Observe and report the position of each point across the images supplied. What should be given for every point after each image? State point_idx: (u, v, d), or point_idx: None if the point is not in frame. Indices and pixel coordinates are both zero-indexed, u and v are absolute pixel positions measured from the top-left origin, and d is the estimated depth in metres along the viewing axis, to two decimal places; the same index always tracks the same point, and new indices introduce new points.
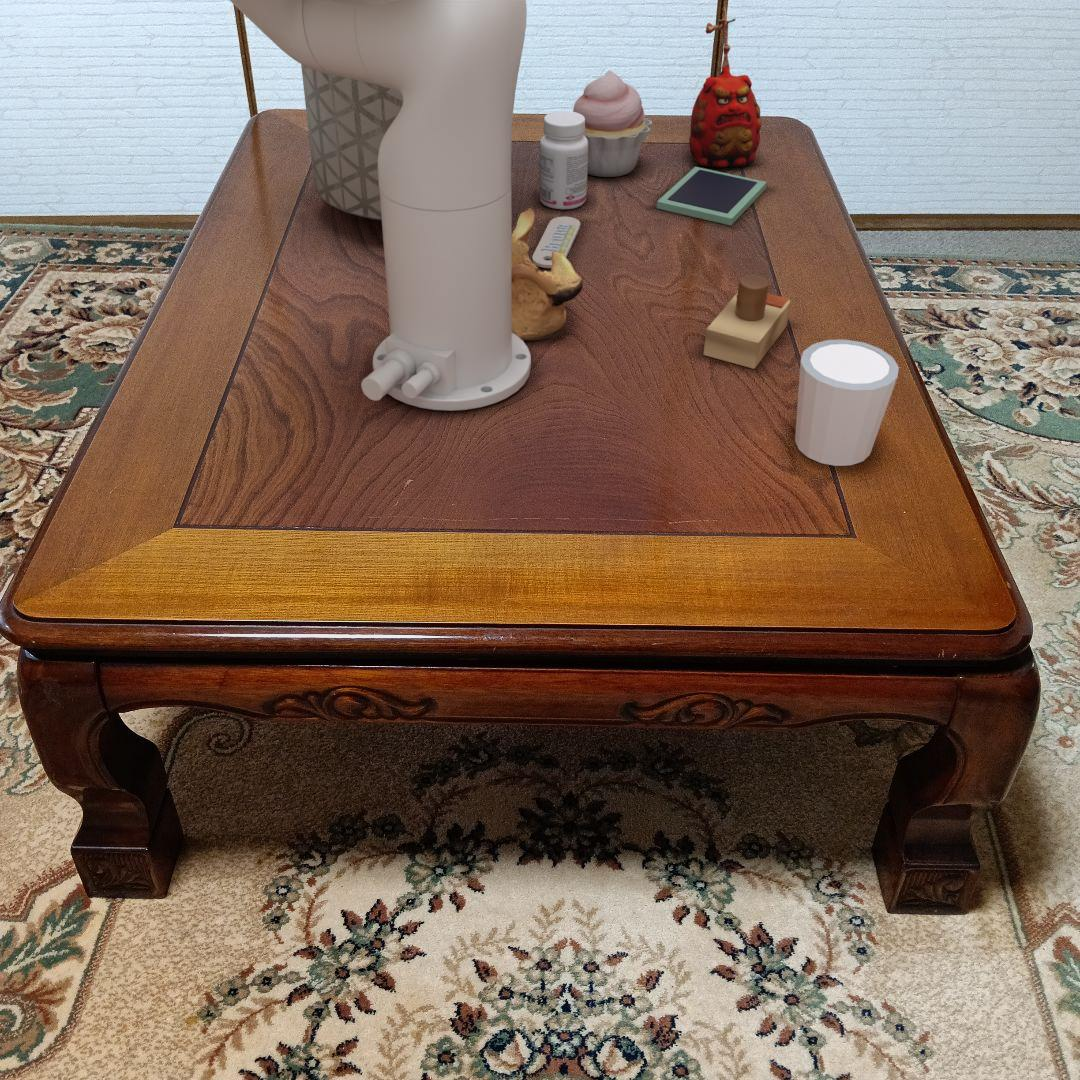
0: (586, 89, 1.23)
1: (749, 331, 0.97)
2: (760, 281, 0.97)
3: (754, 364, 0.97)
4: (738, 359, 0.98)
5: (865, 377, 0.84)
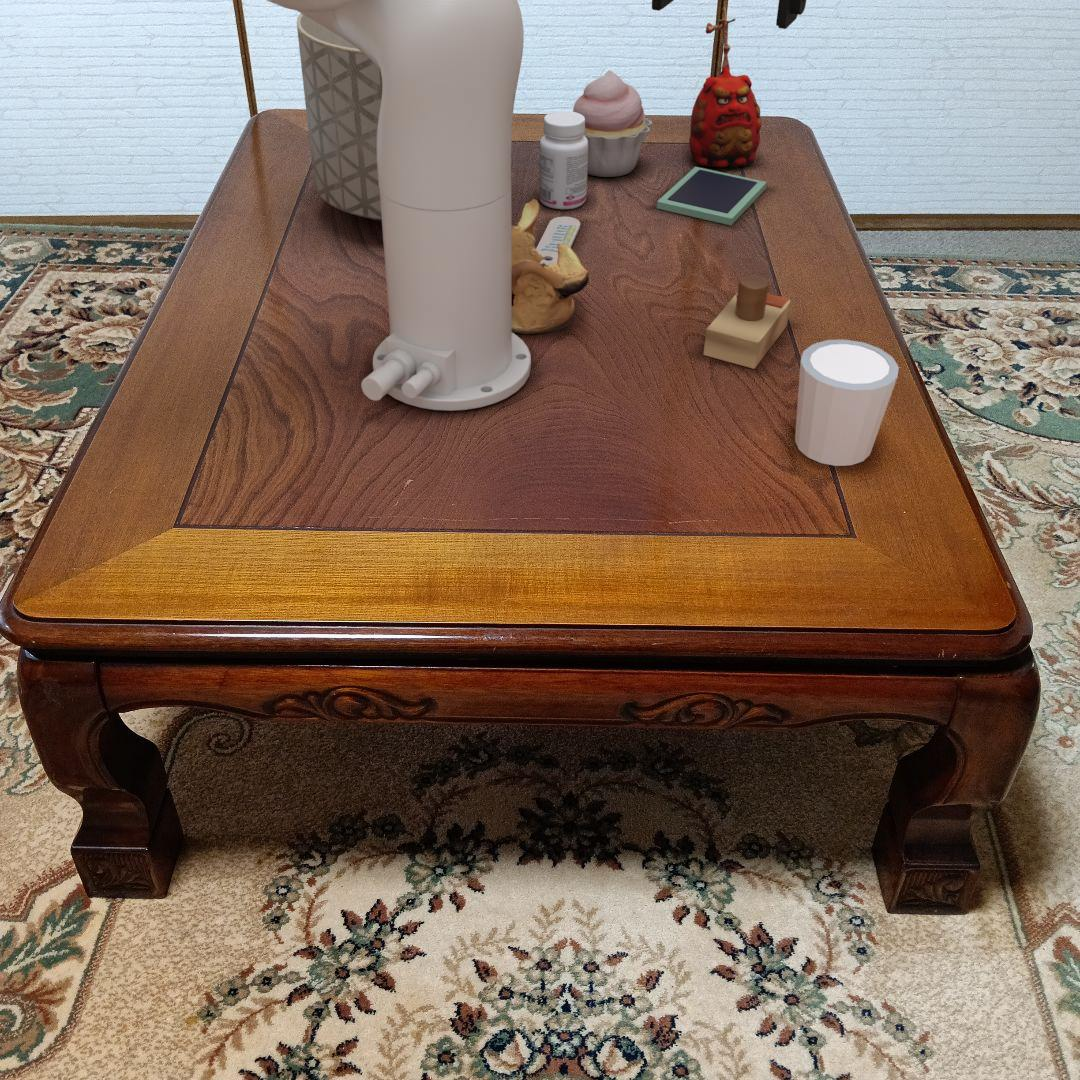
0: (586, 89, 1.23)
1: (749, 331, 0.97)
2: (760, 281, 0.97)
3: (754, 364, 0.97)
4: (738, 359, 0.98)
5: (865, 377, 0.84)
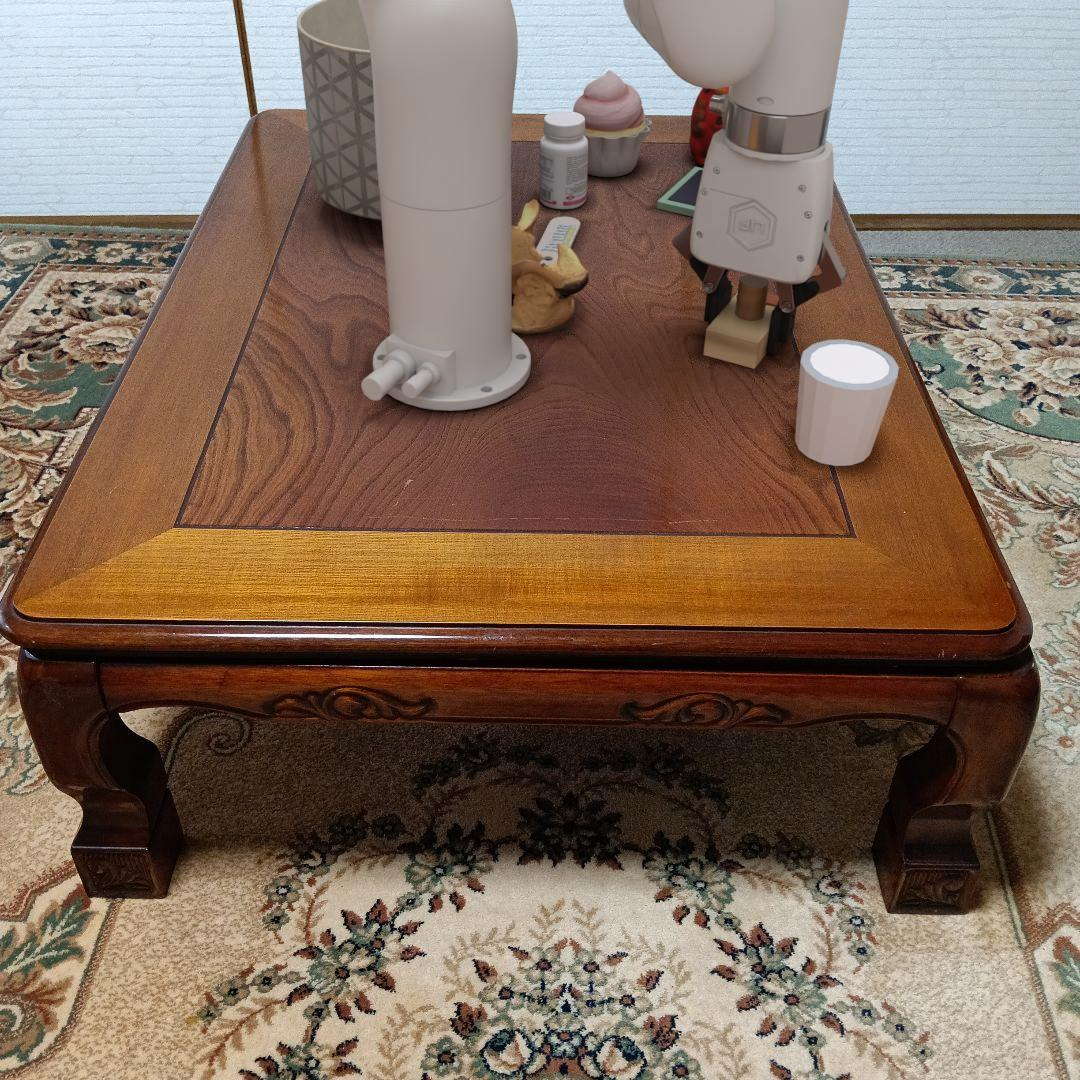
0: (586, 89, 1.23)
1: (749, 331, 0.97)
2: (760, 281, 0.97)
3: (754, 364, 0.97)
4: (738, 359, 0.98)
5: (865, 377, 0.84)
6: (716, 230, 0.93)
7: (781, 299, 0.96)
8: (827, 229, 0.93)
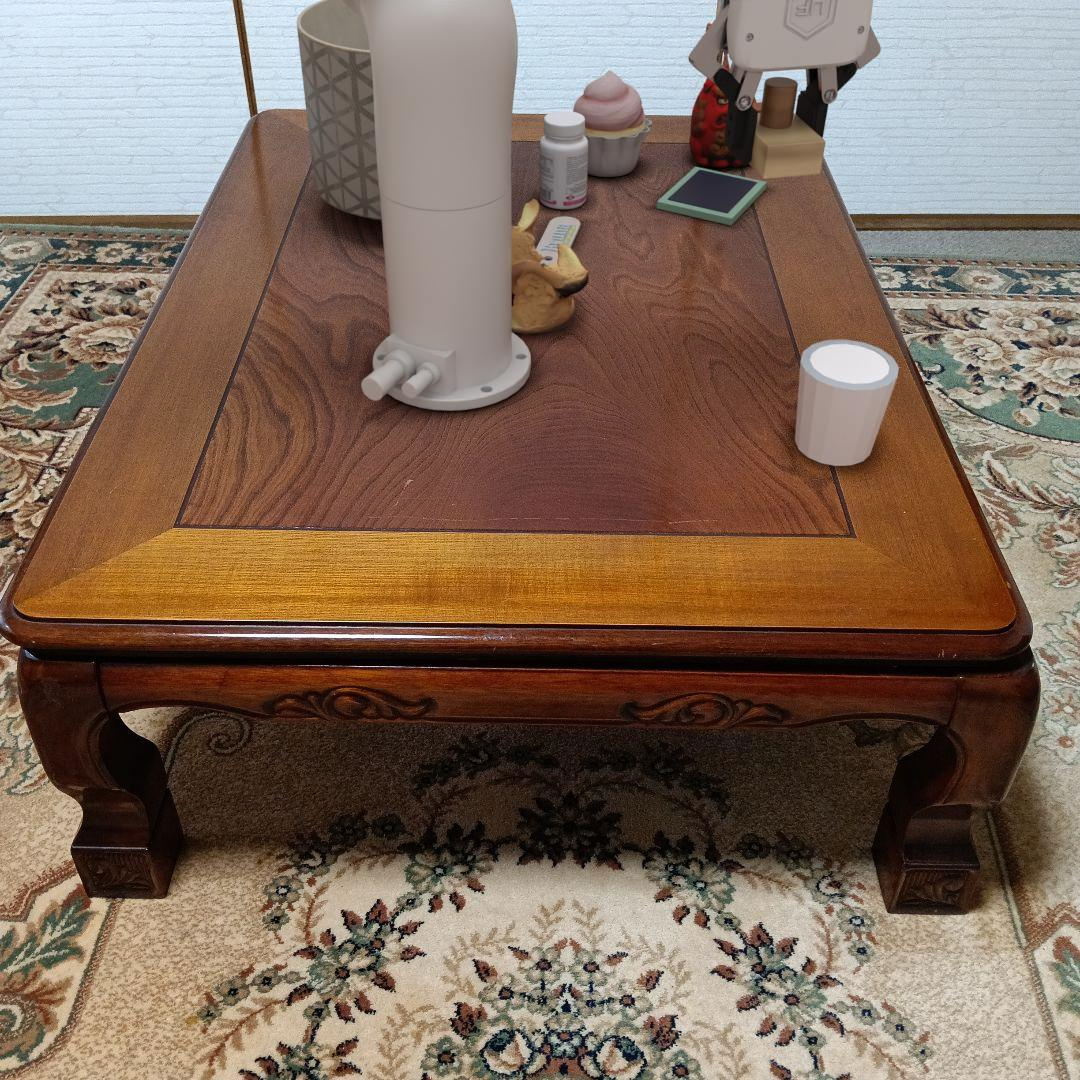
0: (586, 89, 1.23)
1: (802, 135, 0.87)
2: (785, 80, 0.88)
3: None
4: (803, 169, 0.88)
5: (865, 377, 0.84)
6: (770, 25, 0.82)
7: (824, 90, 0.87)
8: None
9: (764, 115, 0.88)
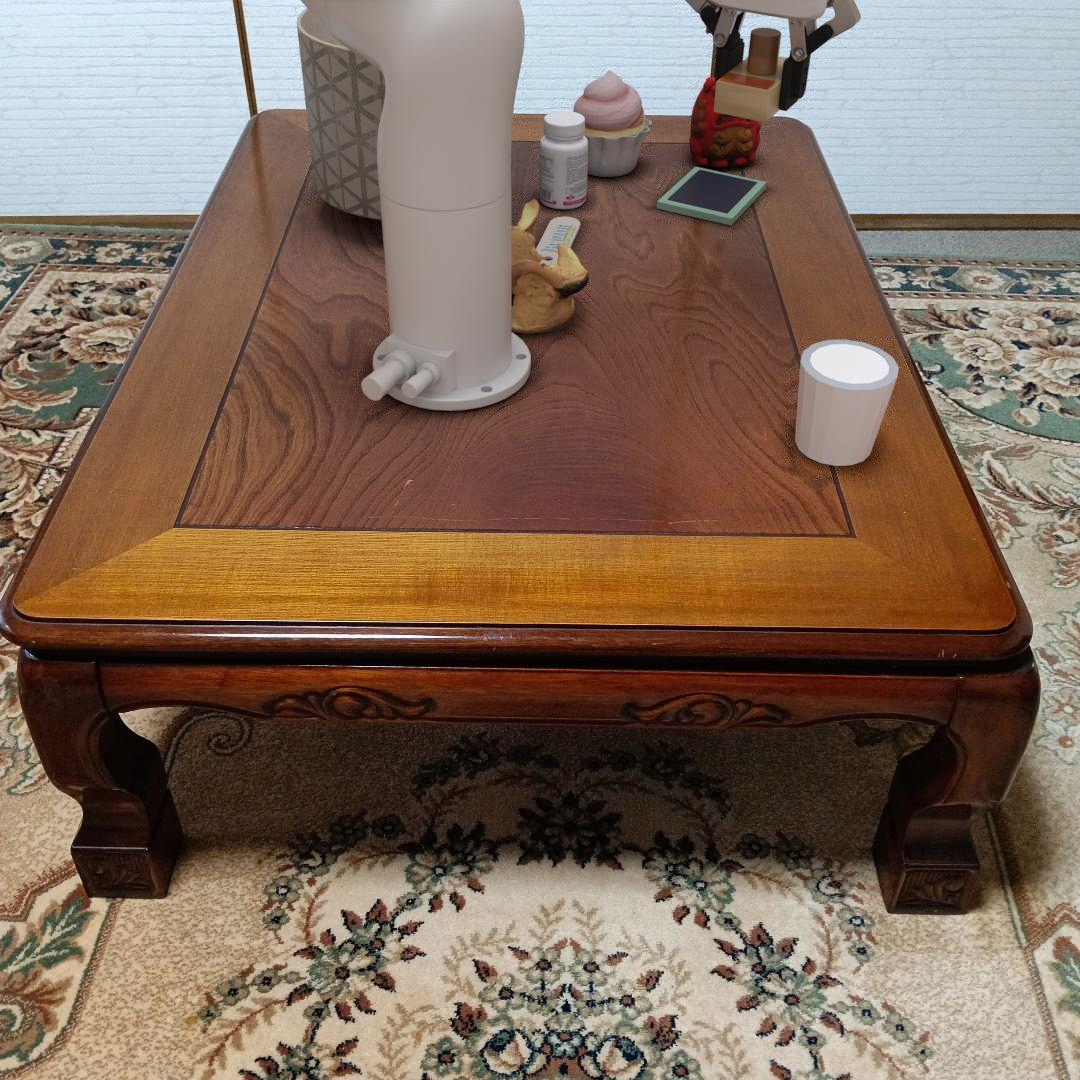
0: (586, 89, 1.23)
1: None
2: (759, 31, 0.95)
3: None
4: None
5: (865, 377, 0.84)
6: None
7: None
8: None
9: (777, 62, 0.96)
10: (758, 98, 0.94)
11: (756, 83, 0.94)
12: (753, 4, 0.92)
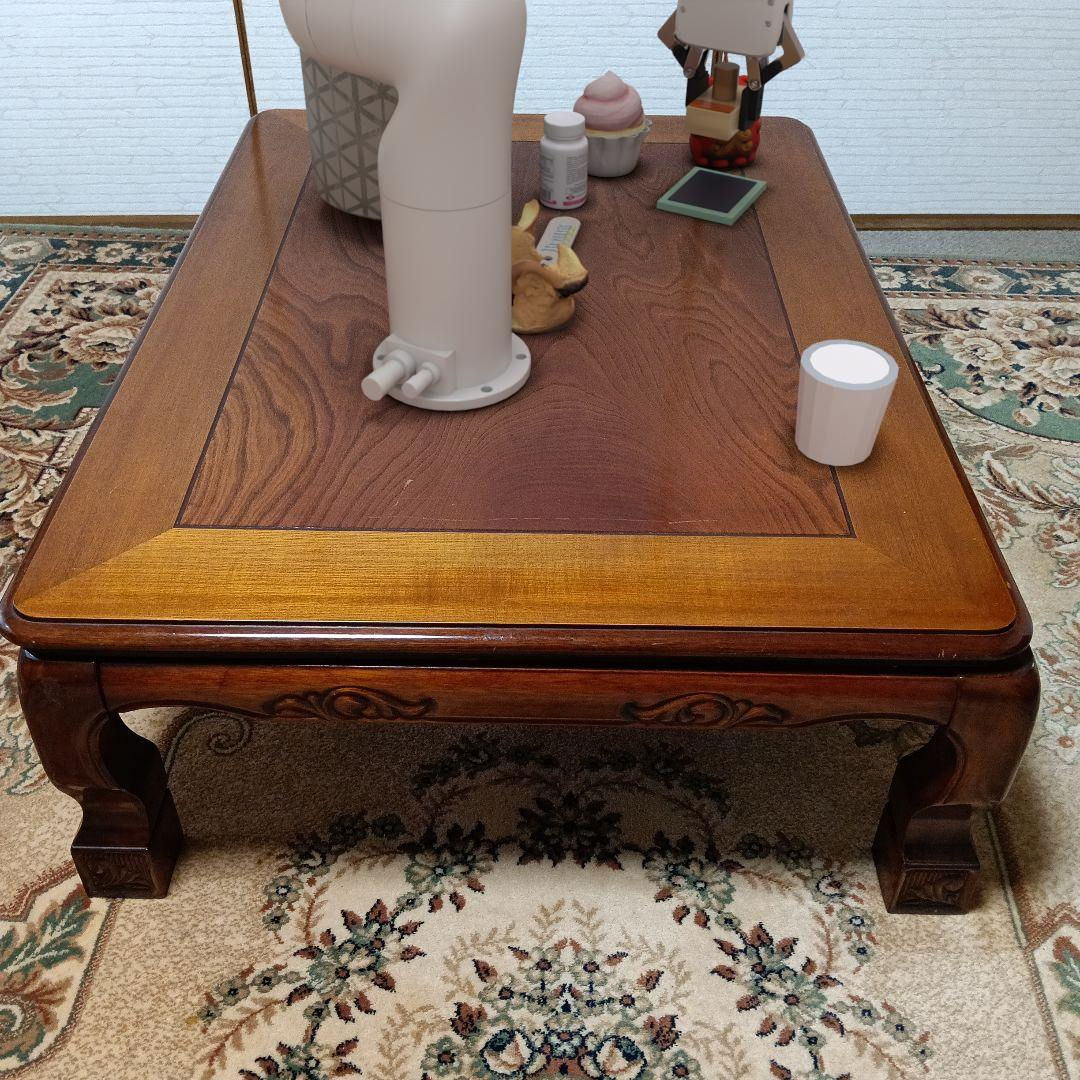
0: (586, 89, 1.23)
1: None
2: (722, 65, 1.14)
3: None
4: None
5: (865, 377, 0.84)
6: None
7: None
8: None
9: (737, 90, 1.15)
10: (721, 121, 1.13)
11: (719, 108, 1.13)
12: (716, 44, 1.11)
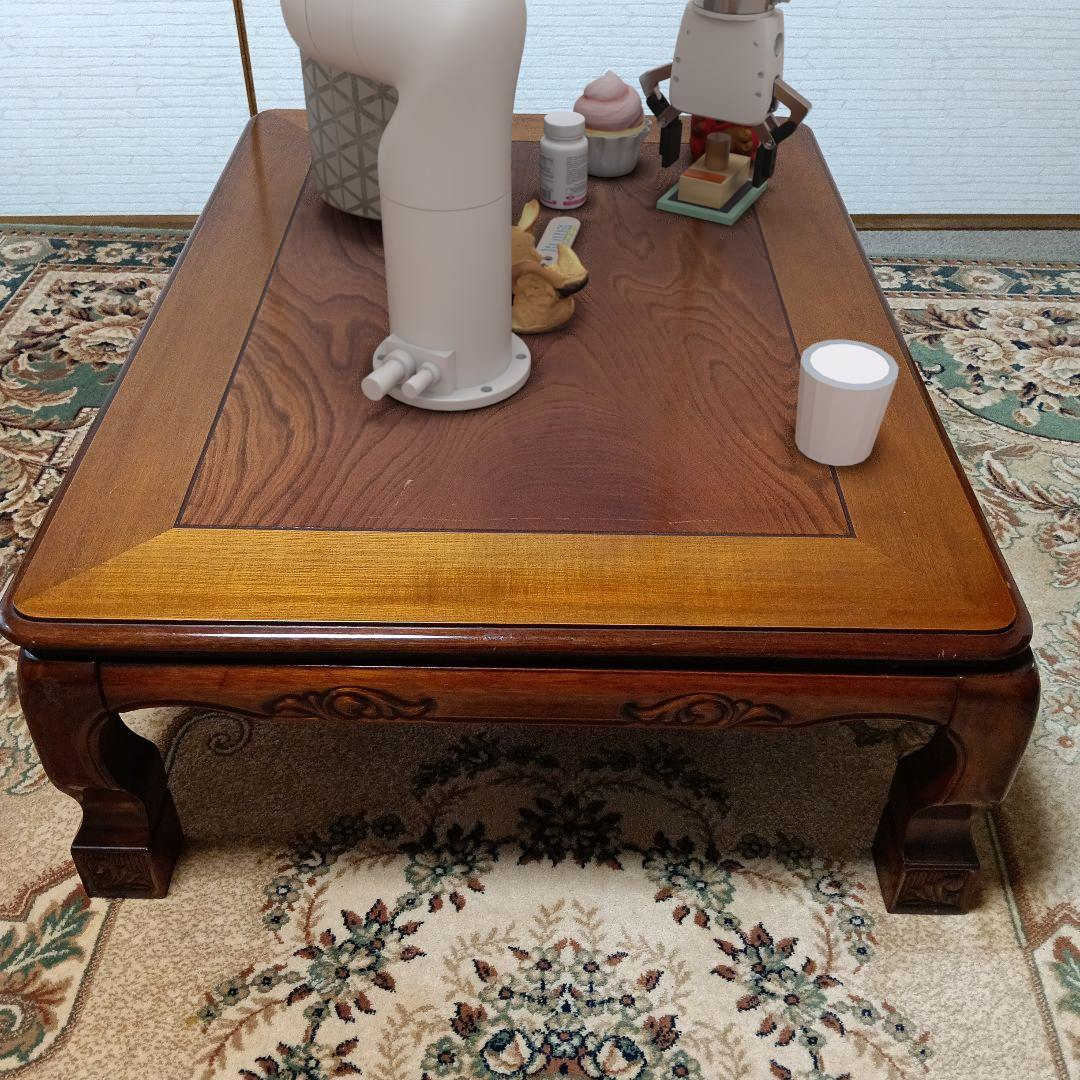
0: (586, 89, 1.23)
1: None
2: (714, 136, 1.19)
3: None
4: None
5: (865, 377, 0.84)
6: None
7: None
8: None
9: (728, 160, 1.20)
10: (713, 190, 1.18)
11: (712, 178, 1.18)
12: (708, 112, 1.15)
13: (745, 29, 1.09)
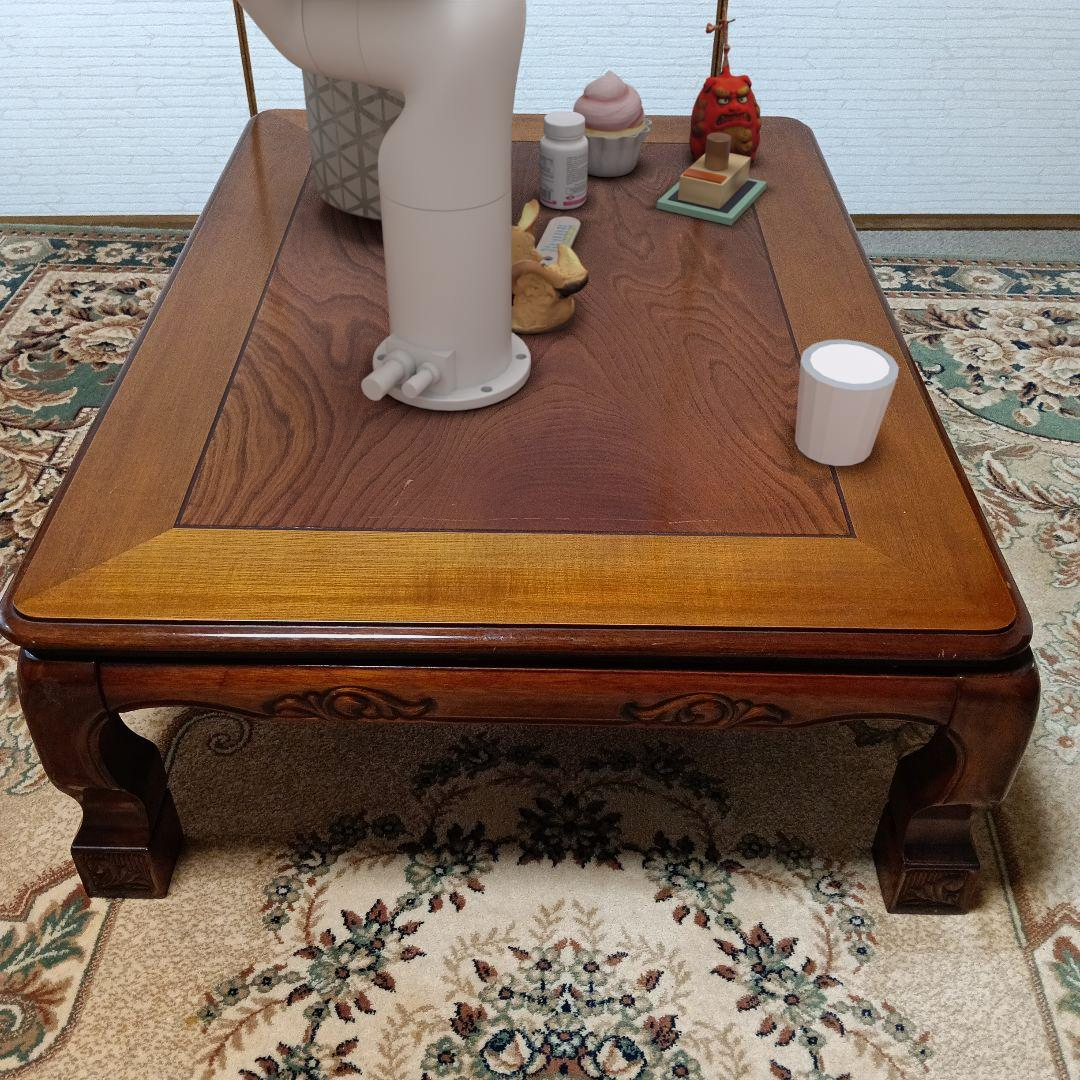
0: (586, 89, 1.23)
1: None
2: (714, 136, 1.19)
3: None
4: None
5: (865, 378, 0.84)
6: None
7: None
8: None
9: (728, 160, 1.20)
10: (713, 190, 1.18)
11: (712, 178, 1.18)
12: None
13: None
